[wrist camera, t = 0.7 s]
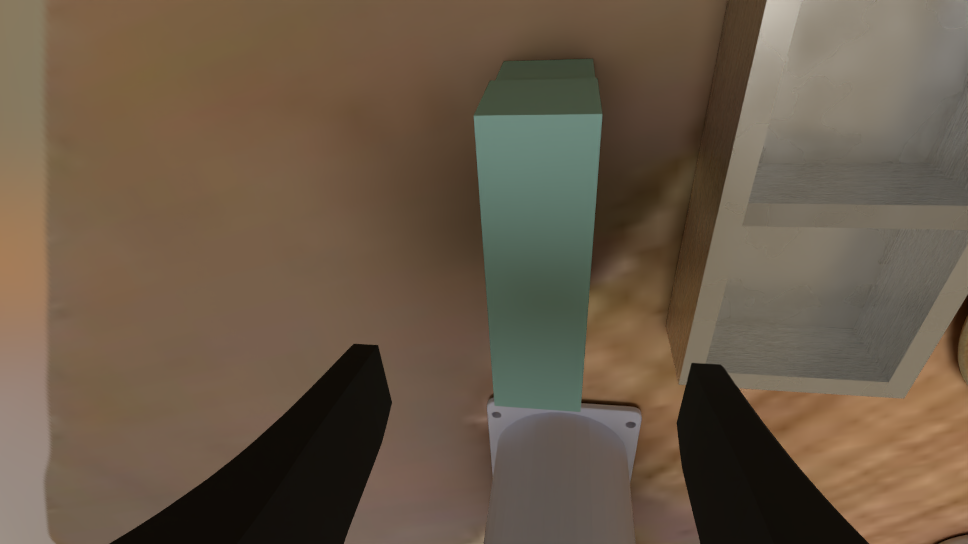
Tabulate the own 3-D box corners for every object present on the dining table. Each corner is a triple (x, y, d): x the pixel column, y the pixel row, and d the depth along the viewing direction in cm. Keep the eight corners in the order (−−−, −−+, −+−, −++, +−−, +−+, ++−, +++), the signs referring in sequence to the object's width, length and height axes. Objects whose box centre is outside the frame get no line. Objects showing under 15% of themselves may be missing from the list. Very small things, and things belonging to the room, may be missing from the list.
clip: (578, 296, 23) (580, 412, 18) (512, 293, 23) (494, 405, 18) (593, 49, 17) (602, 113, 12) (503, 52, 17) (473, 115, 12)
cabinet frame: (862, 335, 22) (903, 398, 19) (665, 326, 23) (678, 384, 20) (1080, -111, 13) (1217, -115, 10) (744, -88, 14) (786, -86, 12)
